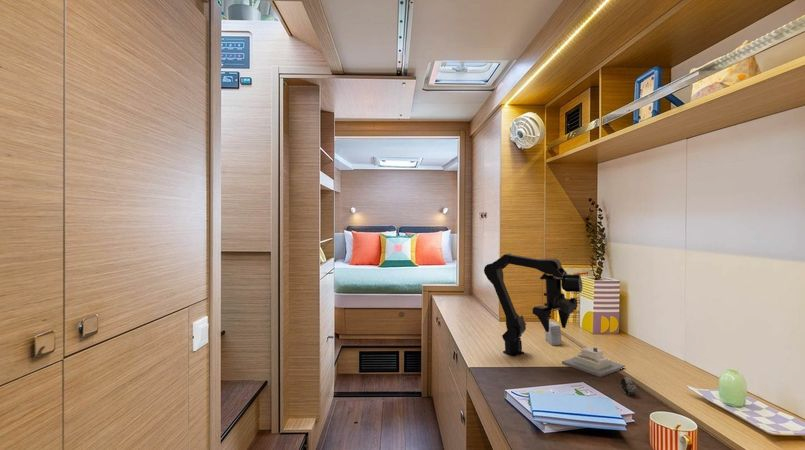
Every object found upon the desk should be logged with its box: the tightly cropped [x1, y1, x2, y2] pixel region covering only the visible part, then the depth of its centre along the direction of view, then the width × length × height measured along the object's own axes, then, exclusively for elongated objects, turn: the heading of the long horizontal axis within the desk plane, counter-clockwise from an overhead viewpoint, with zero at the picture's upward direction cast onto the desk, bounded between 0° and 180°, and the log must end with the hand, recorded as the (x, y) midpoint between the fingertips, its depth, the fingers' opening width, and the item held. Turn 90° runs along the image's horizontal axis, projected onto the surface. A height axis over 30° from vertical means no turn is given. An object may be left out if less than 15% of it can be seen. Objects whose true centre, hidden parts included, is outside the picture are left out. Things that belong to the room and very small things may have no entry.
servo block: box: [576, 346, 609, 363], centre depth 143 cm, size 4×10×6 cm, turn 27°
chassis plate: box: [561, 355, 626, 378], centre depth 143 cm, size 14×16×3 cm
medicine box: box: [544, 321, 563, 346], centre depth 173 cm, size 8×4×9 cm, turn 179°
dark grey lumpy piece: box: [620, 376, 638, 396], centre depth 120 cm, size 3×5×5 cm
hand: (555, 329), depth 152 cm, fingers open, 9 cm apart
